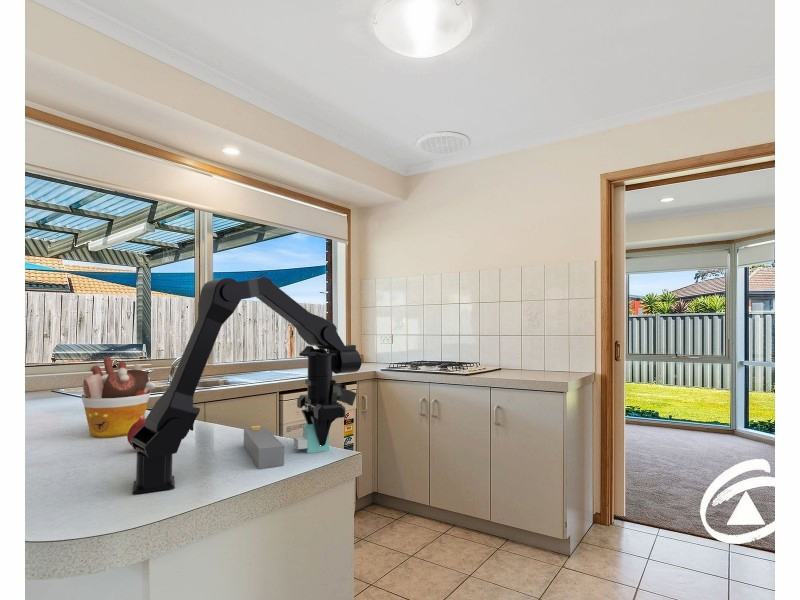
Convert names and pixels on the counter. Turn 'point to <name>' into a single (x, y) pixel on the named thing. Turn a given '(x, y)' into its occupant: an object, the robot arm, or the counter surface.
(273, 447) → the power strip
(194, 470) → the counter surface
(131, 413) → the bucket of meat
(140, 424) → the onion
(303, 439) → the block
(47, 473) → the counter surface
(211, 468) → the counter surface
